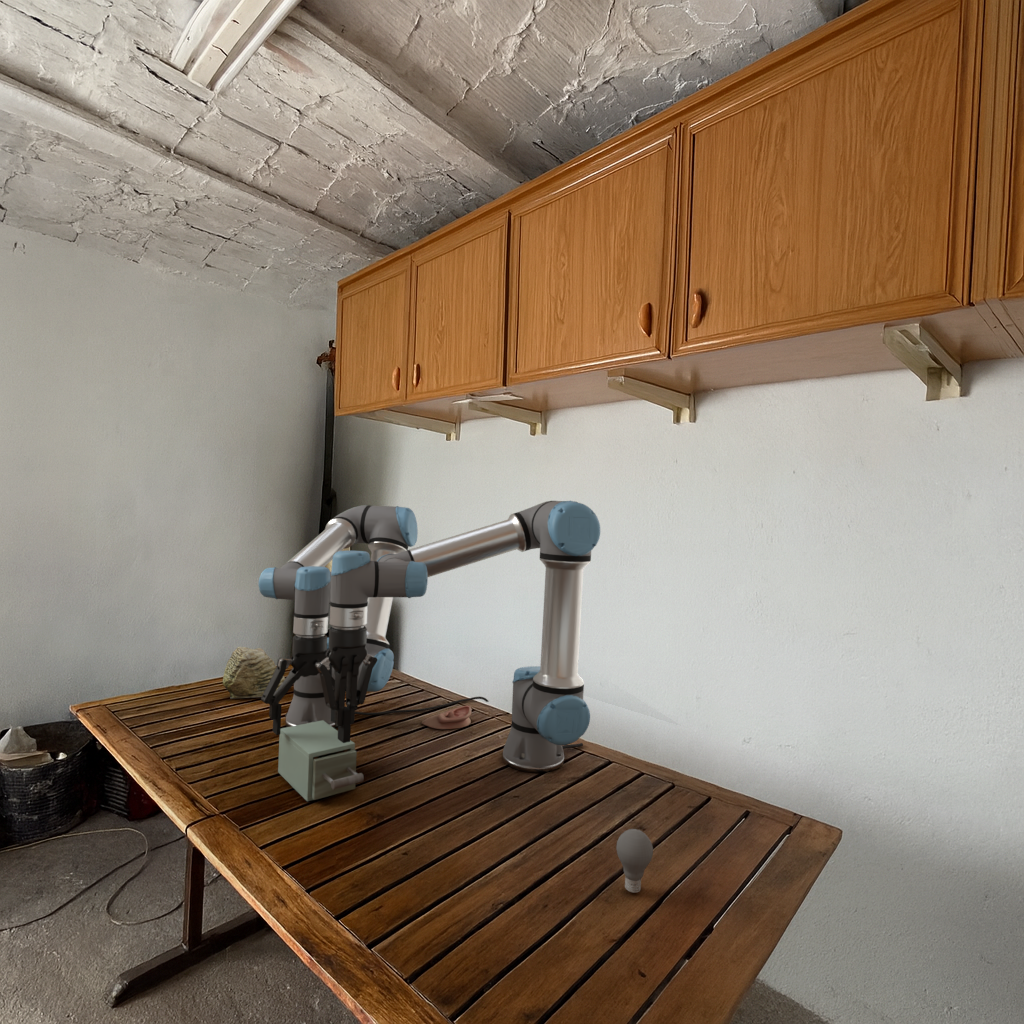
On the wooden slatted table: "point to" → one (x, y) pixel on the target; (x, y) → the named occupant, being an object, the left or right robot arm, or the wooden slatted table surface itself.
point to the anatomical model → (450, 719)
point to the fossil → (248, 673)
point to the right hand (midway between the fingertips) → (343, 740)
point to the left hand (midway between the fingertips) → (306, 727)
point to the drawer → (334, 773)
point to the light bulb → (634, 857)
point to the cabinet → (306, 752)
